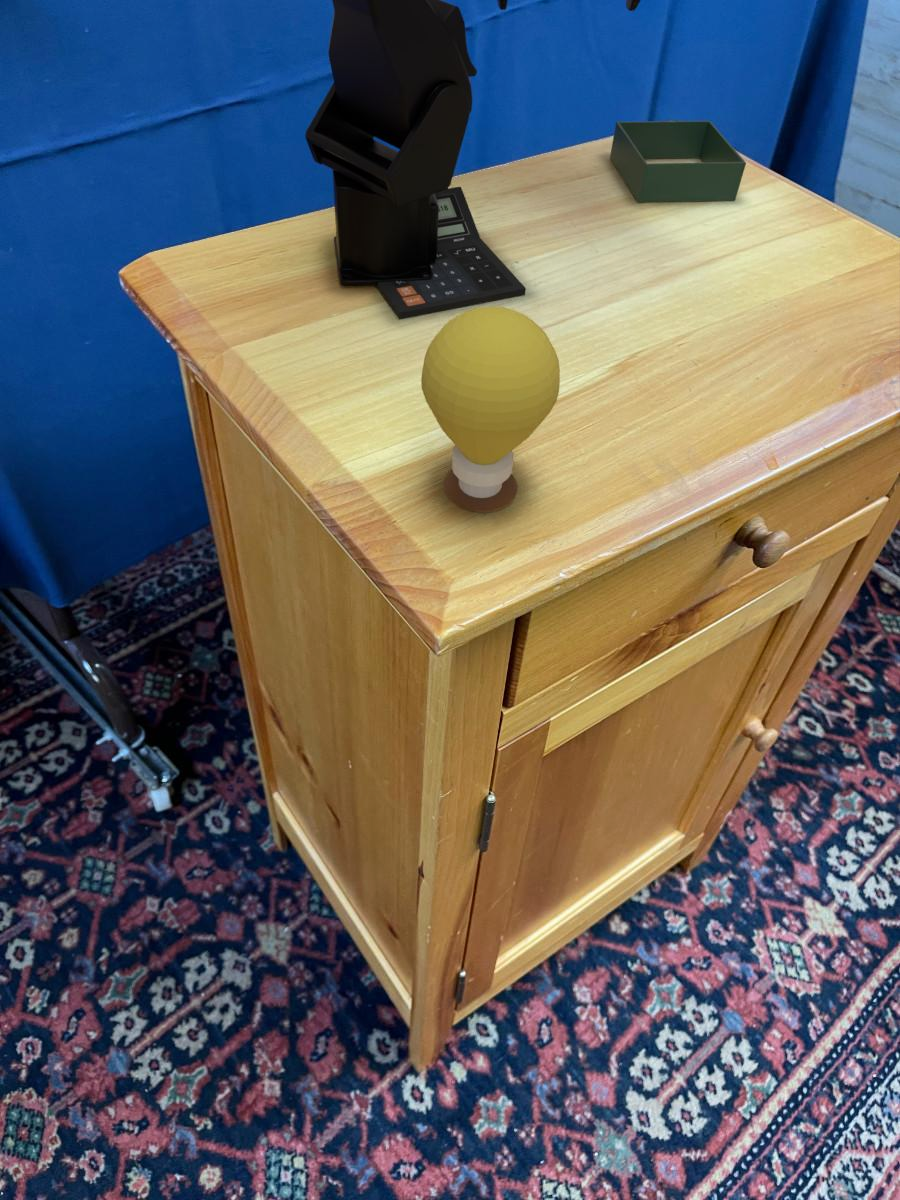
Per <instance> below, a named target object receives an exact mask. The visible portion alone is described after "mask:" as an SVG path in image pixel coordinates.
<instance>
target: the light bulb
mask: <svg viewBox="0 0 900 1200" xmlns="http://www.w3.org/2000/svg"><path fill="white" fill-rule="evenodd" d="M560 371H561V370H560V360H559V357H558V353H557V351H556V350H555V347H554V345H553V344H552V342H551V340H550V338H549V336H548V335H547V333H546V332H545V331H544V330H543V328H542V327H541V326H540V325H539V324H537V322H535V321H534V320H533V319H532V318H531V317H529V316H528V315H526V314H524V313H522V312H519V311H518V310H515V309H511V308H507V307H505V306H494V305H493V306H492V305H491V306H490V305H489V306H481V307H476V308H472V309H468V310H466V311H464V312H462V313H460V314H458V315H456V316H455V317H453V318H452V319H450V320H448V322H446V323H445V324H444V325H443V326H442V328H441V329H440V330H439V331H438V332H437V333H436V335H435V336H434V337H433V339H432V340H431V342H430V344H429V345H428V347H427V348H426V352H425V355H424V358H423V365H422V370H421V379H420V383H421V390H422V394H423V397H424V399H425V402H426V404H427V406H428V407H429V409H430V411H431V413H432V414H433V415H434V418H435V420H436V421H437V423H438V425H439V427H440V428H441V430H442V431H443V433H444V434H445V435H446V436H447V437H448V438H449V440H450V441H451V442H452V443H453V444H454V446H453V448H452V454H451V455H452V458H451V469H453V472H454V474H455V475H456V476H457V477H458V479H459V486H460V488H461V489H462V491H463V492H464V493H466V494H468V495H470V496H473V497H476V498H487V497H491V496H494V495H496V494H497V493H498V492H499V491H500V489H501V488H502V483H503V482H504V481H506V480H507V479H508V478H509V476H510V475H511V474H513V473H512V472H513V466H514V465H513V464H514V450H515V449H517V448H518V447H519V446H520V445H522V443H524V442H525V441H526V440H528V439H529V438H530V436H531V435H532V434H534V432H535V431H536V429H537V428H538V427H539V426H540V425H541V424H542V423H543V422H544V420H545V419H546V418H547V417H548V416H549V415H550V413H551V412H552V410H553V408H554V406H555V404H556V403H557V400H558V397H559V393H560V381H561V377H560V376H561V374H560Z"/></svg>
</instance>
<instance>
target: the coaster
mask: <svg viewBox="0 0 900 1200" xmlns="http://www.w3.org/2000/svg"><path fill="white" fill-rule="evenodd" d="M518 488H519V487H518V482H517V480H516V478H515V476H514V475H513V473H511V475H510V476H509V478H508V479H507V480H506V481H504V482H503V483H502V488H501V489H500V491H499V492H498V493H497V494H496V495H494V496H491V497H487V498H476V497H473V496H470V495H468V494H466V493H464V492H463V491H462V489H461V488H460V486H459V479H458V477H457V476H456V475H455V474H454V472H453V469H452V468H451V469H450V470H449V471H448V472H447V473H446V474H445V476H444V479H443V491H444V493H445V495H446V497H447V498H448V499H449V500H450V501H451V502H452V503H453V504H454V505H456V506H457V507H459V508H461V509H464V510H466V511H470V512H475V513H493V512H496V511H499V510H502V509H505V508H506V507H508V506H509V505H511V504H512V503H513V501H514V500H515V499H516V496H517V494H518Z"/></svg>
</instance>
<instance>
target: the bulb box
mask: <svg viewBox="0 0 900 1200" xmlns="http://www.w3.org/2000/svg"><path fill="white" fill-rule="evenodd" d="M609 159H610V161H611V163H612V164H613V166H614V167H615V169H616V171H617V172H618V174H619V175H620V177H621V179H622V180H623V182H624V183H625V185H626V187H627V188H628V189H629V191H630V193H631V194H632V196H633V198H634V199H635V201H636V202H637V203H638V204H639V203H675V202H677V203H681V202H684V203H685V202H719V201H720V202H722V201H723V202H725V201H726V202H727V201H736V198H737V196H738V191H739V188H740V186H741V182H742V178H743V175H744V171H745V168H746V165H747V162H746V160H744V158H743V157H742V156H741V155H740V154H739V152H738V151H737V150H736V149H735V148H734V146H733V145H732V144H731V143H730V142H729V141H728V140H727V138H726V137H725V136H724V135H723V133H722V132H720V130H719V129H718V127H716V126H715V125H714V123H713V122H712V121H711V120H666V121H665V120H663V121H662V120H659V121H658V120H657V121H656V120H653V121H651V120H649V121H644V120H643V121H642V120H641V121H616V122H615V127H614V133H613V139H612V144H611V150H610V155H609ZM648 159H649V160H651V159H653V160H654V159H700V160H701V162H658V163H655V162H654V163H653V162H652V163H651V162H650V163H649V162H648V163H647V161H646V160H648Z"/></svg>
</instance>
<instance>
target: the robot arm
mask: <svg viewBox="0 0 900 1200" xmlns="http://www.w3.org/2000/svg"><path fill="white" fill-rule="evenodd" d="M641 1H642V0H625V7H626V9H627V10H628V11H630V12H633V11H636V9H637V8H638V5H639V4H640V2H641ZM331 2H332V5H333V17H332V24H331V29H330V30H331V31H330V37H329V42H328V43H329V44H328V51H327V52H328V53H327V55H328V58H329V64H330V69H331V74H332V79H333V82H332V85H331V86H330V88H329V89H328V91H327V93H326V95H325V97H324V99H323V101H322V103H321V104H320V106H319V108H318V109H317V111H316V113H315V114H314V117H313V119H312V120H311V122H310V124H309V126H308V127H307V128H306V131H305V135H304V136H305V140H306V144H307V145H308V148H309V151H310V154H311V156H312V159H313V161H314V162H315V163H317V164H319V165H323V166H325V167H327V168H329V169H331V170H332V183H333V184H332V185H333V200H334V201H333V202H334V203H333V204H334V221H335V236H334V237H333V246H334V247H333V248H334V253H335V260H336V261H335V262H336V269H337V276H338V284H339V285H340V286H342V287H344V288H345V287H347V288H349V287H376V286H378V282H388V281H417V280H430V279H432V278H433V272H432V269H431V265H430V263H434V262H435V261H436V260H437V241H438V215H439V205H438V202H437V199H436V196H435V193H437V192H440V191H442V190H445V189H448V188H451V183H452V181H453V177H454V174H455V170H456V166H457V163H458V160H459V155H460V153H461V148H462V145H463V140H464V137H465V134H466V130H467V128H468V125H469V124H468V123H469V120H470V115H471V113H472V109H473V91H472V83H471V79H470V77H471V78H472V77H476V75H477V73H478V70H477V68H476V67H475V66H474V64H473V62H472V60H471V58H470V53H469V51H468V45H467V35H466V34H467V33H466V24H465V20H464V17H463V14H462V12H461V9H460V8H459V6H457V5H454V4H452V3H450V2H447V1H444V0H331ZM496 2H497V6H498V7H499V10H500V11H506V10H507V7H508V0H496ZM374 138H376V139H378V140H381V141H382V142H383V143H387V144H388V145H390V146H392V147H394V148H397V149H398V151H397V150H395V149H393V148H392V147H389V146H387V145H386V144H383V143H382V142H380V141H378V140H376V139H374ZM425 274H426V275H429V276H428V277H424V276H423V275H425Z"/></svg>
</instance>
